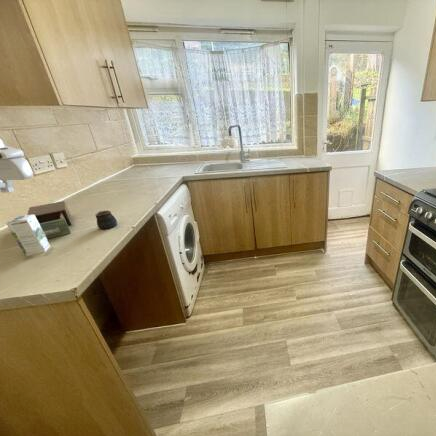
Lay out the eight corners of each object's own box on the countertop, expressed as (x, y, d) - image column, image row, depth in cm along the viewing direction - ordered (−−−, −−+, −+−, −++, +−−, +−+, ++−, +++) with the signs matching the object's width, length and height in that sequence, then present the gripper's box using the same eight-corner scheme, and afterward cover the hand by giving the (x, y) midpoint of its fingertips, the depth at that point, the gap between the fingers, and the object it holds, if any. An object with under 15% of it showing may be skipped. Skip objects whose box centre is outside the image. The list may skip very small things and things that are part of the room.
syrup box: (33, 250, 94) (13, 216, 88) (52, 246, 96) (34, 213, 90) (26, 258, 89) (4, 222, 83) (46, 253, 91) (26, 219, 85)
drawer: (71, 236, 102) (64, 221, 100) (33, 246, 96) (25, 230, 93) (69, 222, 116) (64, 209, 113) (36, 229, 109) (30, 216, 107)
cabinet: (72, 226, 114) (65, 209, 110) (35, 235, 106) (26, 217, 103) (71, 216, 125) (64, 200, 122) (37, 223, 118) (29, 207, 114)
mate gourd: (117, 223, 115) (109, 204, 111) (120, 228, 110) (112, 208, 106) (99, 228, 111) (90, 208, 107) (101, 234, 106) (91, 213, 102)
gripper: (-56, 154, 79) (-32, 195, 84) (8, 153, 79) (27, 194, 85) (-32, 151, 85) (-12, 190, 90) (27, 150, 85) (44, 188, 90)
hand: (8, 192), depth 87 cm, fingers closed
